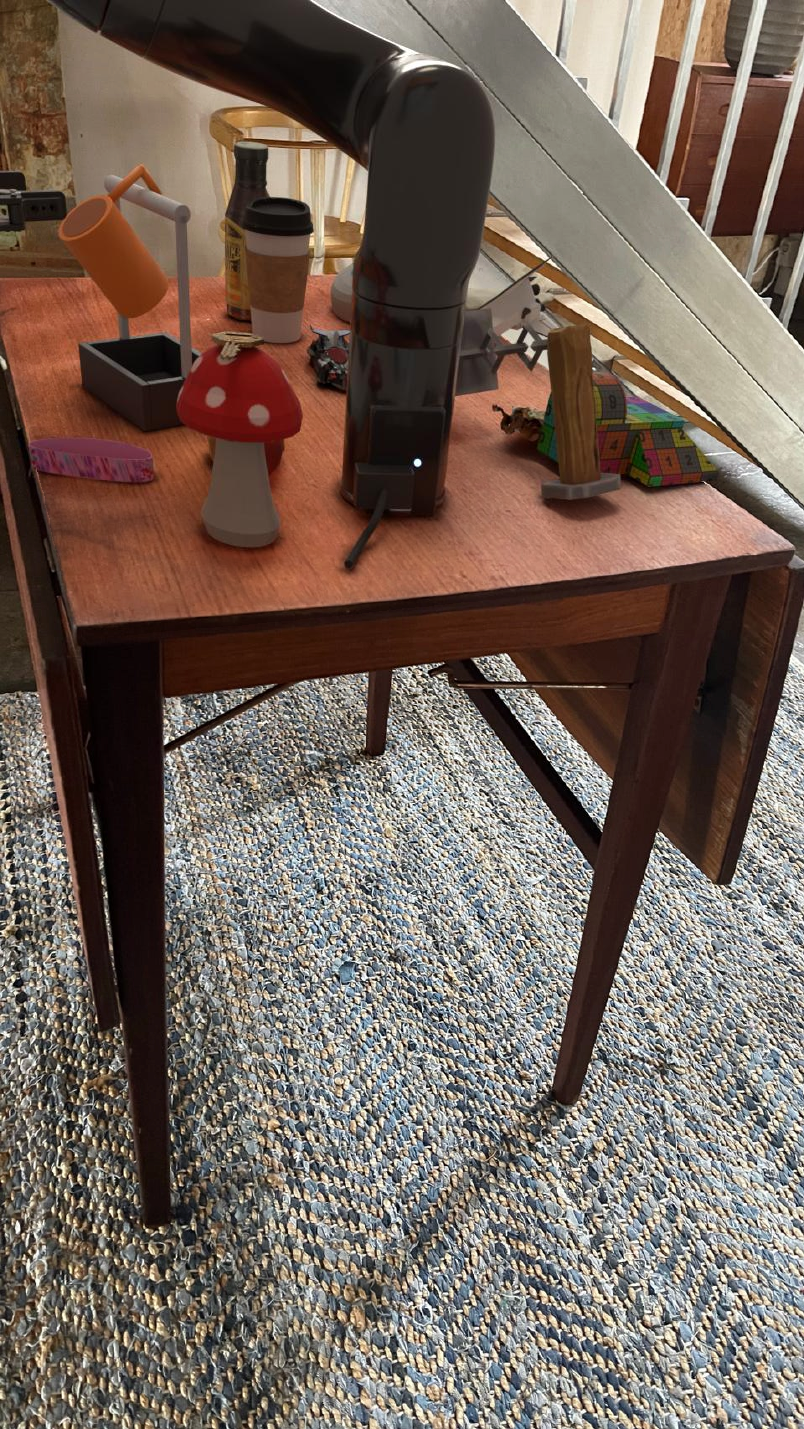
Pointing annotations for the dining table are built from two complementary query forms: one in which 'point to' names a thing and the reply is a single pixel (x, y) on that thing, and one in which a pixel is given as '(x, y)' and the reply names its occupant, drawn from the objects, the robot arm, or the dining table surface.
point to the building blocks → (636, 439)
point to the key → (235, 342)
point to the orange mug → (115, 250)
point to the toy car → (330, 357)
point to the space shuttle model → (519, 307)
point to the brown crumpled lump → (522, 421)
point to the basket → (145, 340)
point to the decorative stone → (342, 293)
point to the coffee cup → (277, 265)
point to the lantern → (568, 392)
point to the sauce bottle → (245, 189)
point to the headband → (92, 459)
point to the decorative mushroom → (240, 438)
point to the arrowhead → (482, 296)
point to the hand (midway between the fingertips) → (43, 194)
